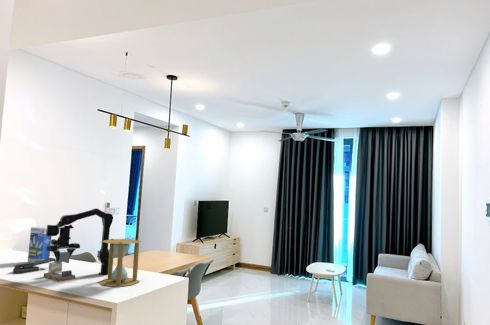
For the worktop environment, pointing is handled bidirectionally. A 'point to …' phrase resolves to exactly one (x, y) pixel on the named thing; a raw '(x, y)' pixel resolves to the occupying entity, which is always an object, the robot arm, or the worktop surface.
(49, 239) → the blue printed box
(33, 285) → the worktop surface
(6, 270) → the worktop surface
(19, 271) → the dark grey stapler
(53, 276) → the rail board
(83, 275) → the worktop surface
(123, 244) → the hourglass
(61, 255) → the block
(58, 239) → the robot arm
